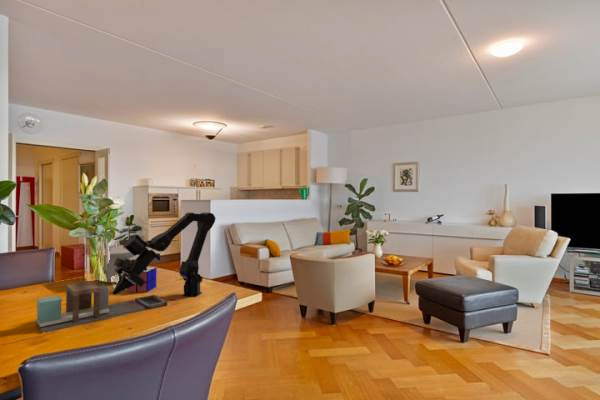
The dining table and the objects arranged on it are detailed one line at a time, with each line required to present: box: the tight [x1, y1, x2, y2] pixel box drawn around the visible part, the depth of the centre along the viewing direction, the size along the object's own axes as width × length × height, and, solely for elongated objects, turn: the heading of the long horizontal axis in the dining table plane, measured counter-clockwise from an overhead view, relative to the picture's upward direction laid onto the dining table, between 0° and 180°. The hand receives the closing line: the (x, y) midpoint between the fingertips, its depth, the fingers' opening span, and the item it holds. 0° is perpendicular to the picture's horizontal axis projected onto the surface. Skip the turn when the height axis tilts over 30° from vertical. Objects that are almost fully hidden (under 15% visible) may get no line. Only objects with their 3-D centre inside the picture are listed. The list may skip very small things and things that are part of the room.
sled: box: [36, 284, 110, 327], centre depth 122 cm, size 21×7×9 cm, turn 136°
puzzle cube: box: [126, 266, 158, 293], centre depth 163 cm, size 10×10×10 cm
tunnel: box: [65, 281, 100, 323], centre depth 124 cm, size 8×12×11 cm, turn 46°
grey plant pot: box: [105, 241, 139, 284], centre depth 180 cm, size 28×28×21 cm
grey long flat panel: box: [35, 300, 146, 334], centre depth 126 cm, size 33×13×1 cm, turn 136°
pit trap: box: [134, 294, 168, 311], centre depth 142 cm, size 8×14×2 cm, turn 46°
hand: (113, 294), depth 131 cm, fingers closed
